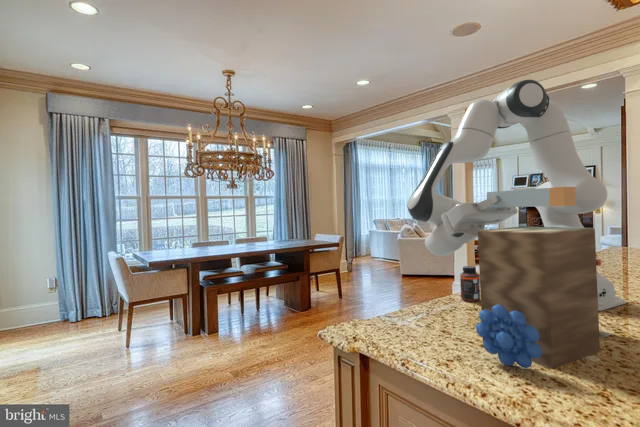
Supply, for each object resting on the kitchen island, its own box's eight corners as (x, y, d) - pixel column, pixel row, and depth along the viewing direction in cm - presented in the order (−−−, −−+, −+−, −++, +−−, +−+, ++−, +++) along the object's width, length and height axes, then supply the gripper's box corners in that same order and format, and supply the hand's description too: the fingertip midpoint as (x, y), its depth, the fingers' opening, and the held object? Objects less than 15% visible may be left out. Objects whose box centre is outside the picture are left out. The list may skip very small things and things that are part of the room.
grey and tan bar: (487, 207, 91) (486, 192, 91) (497, 207, 93) (497, 192, 93) (564, 205, 74) (563, 186, 74) (575, 205, 76) (575, 186, 76)
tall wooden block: (482, 342, 82) (477, 230, 82) (527, 329, 89) (523, 226, 89) (552, 368, 68) (546, 232, 68) (600, 351, 74) (594, 227, 74)
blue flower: (471, 367, 70) (468, 306, 70) (480, 355, 75) (477, 299, 75) (540, 382, 63) (537, 315, 63) (544, 367, 68) (541, 306, 68)
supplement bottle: (482, 302, 116) (480, 268, 116) (463, 302, 117) (461, 268, 117) (477, 298, 122) (476, 265, 122) (459, 297, 123) (458, 265, 123)
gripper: (498, 231, 102) (538, 206, 91) (445, 236, 94) (482, 209, 83) (488, 212, 105) (525, 186, 94) (436, 215, 96) (470, 187, 86)
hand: (505, 197), depth 88 cm, fingers closed on grey and tan bar, 4 cm apart
